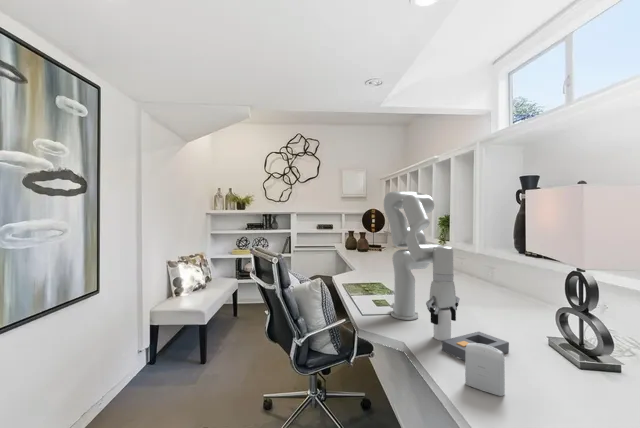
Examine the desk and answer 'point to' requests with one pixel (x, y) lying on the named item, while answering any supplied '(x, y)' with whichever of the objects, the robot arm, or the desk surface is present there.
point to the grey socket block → (459, 343)
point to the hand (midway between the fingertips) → (443, 321)
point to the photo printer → (485, 368)
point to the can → (443, 325)
